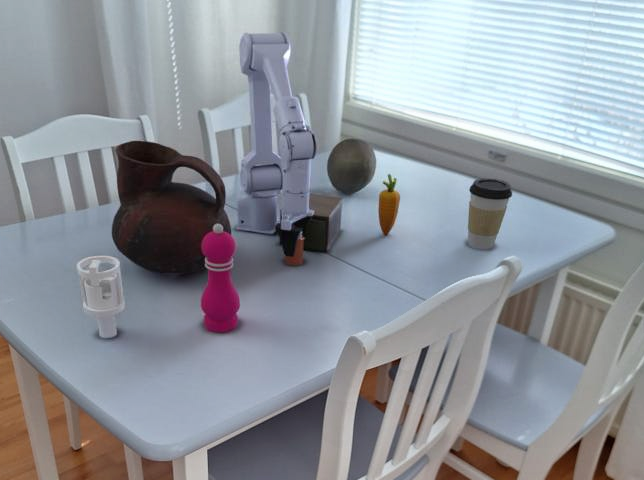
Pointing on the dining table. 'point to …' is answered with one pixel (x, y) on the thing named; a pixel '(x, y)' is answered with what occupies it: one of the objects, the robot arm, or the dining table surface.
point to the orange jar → (297, 252)
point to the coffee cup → (486, 211)
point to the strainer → (102, 292)
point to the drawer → (315, 234)
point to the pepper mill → (219, 282)
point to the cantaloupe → (351, 165)
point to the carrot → (388, 206)
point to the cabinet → (326, 216)
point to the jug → (164, 209)
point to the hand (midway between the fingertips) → (294, 248)
